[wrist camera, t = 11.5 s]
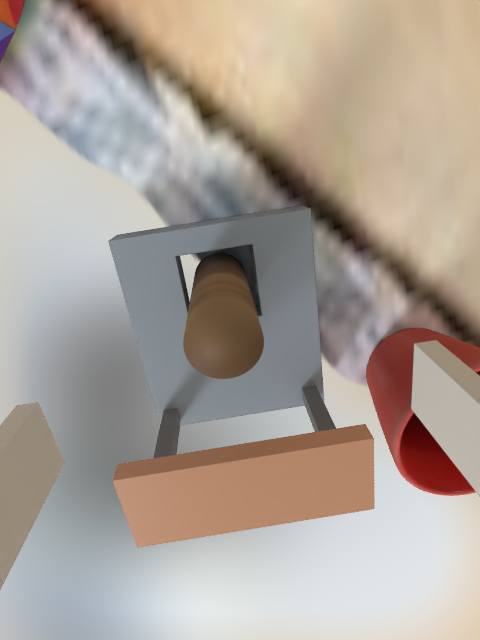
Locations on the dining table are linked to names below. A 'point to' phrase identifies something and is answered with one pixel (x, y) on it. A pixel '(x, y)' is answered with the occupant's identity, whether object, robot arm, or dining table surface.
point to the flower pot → (402, 423)
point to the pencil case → (8, 21)
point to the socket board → (235, 390)
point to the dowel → (222, 320)
